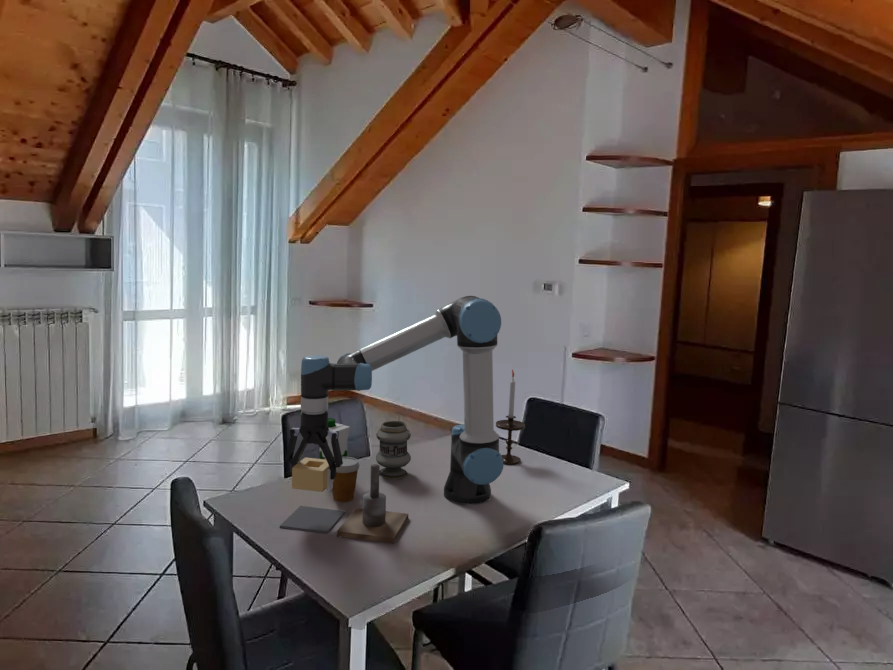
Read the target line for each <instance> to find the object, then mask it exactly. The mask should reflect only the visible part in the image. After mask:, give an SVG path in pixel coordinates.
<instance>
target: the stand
mask: <svg viewBox="0 0 893 670" xmlns="http://www.w3.org/2000/svg"><path fill="white" fill-rule="evenodd" d="M380 467H381V465H379V464H378V463H376V464H371V465H370V491H369V492H367V493H365V494H363V495H362V507H355V508H354V509H353V510H352V512H351V513H350V514H349V515H348V517H347V518H346V519H345V520H344V522H343V523H342V524H341V525H340V527H338V529H337V530H336V537H340V538H347V539H357V540H363V541H371V542H380V543H388V544H394V543H395V542H396V540H397V539H398V537H399V536H400V534H401V532H402V530H403V528H404V526H405V525H406V523H407V522H408V520H409V513H405V512H396V511H388V510H386V509H387V507H386V506H387V496H386V494H385V493H382V492H380V475H379V471H380V470H381V469H380Z"/></svg>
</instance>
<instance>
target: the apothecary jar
mask: <svg viewBox="0 0 893 670" xmlns="http://www.w3.org/2000/svg"><path fill="white" fill-rule="evenodd" d="M375 434H376V439H378V441H379V452H377V454H376V456H375V461H376V462H377V463H376V464H378V465H380V467H383V468H381V469H380V470H379V476H381V477H382V478H385V479H391V480H392V479H397V480H398V479H401V478H404V477H406V476H407V474H408V472H407V470H406V469H404V468H403V467H405V466H407V465H408V464H409V463H410V462H411V459H412V458H411V454H410V452H409V451H408V441H409V440H410V439H411V436H412V435H411V432H410V430H409V429H408V428H407V424H406V422H405V421H401V420H387V421H386V420H385V421H383V422H381V425H380V428H379V429H378V430H377V431H376V433H375Z"/></svg>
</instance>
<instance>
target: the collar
mask: <svg viewBox="0 0 893 670" xmlns="http://www.w3.org/2000/svg"><path fill="white" fill-rule="evenodd" d="M328 468H329V465H328V462H327V460H325V459H320V458H314V457H304V458H302V459H301V460H299V461H298V464H296V465H295V466H294V467H293V468H292V467H291V481H292V482H291V489H293V490H294V489H295V490H303V491H311V492H312V491H313V492H321V493H324V492H325V490H327V469H328ZM333 481H334V480H333Z"/></svg>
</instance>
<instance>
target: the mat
mask: <svg viewBox="0 0 893 670" xmlns="http://www.w3.org/2000/svg"><path fill="white" fill-rule="evenodd" d="M345 513H346V512H345V510H340V509H333V508H332V509H330V508H323V507H322V508H321V507H315V506H314V507H312V506H306V505H304V506H303V505H300V506H298V507H297V509H295V510H294V511H293V512H292V513H291V514H290V515H289V516H288V517H287V518H286V519H285V520H284V521H283V522H282V523H281V524H280V525H279V528H282V529H283V528H284V529H291V530H299V531H305V532H306V531H307V532H315V533H324V534H329V533H330V531H332V529H333V528H334V527H335V525H336V524H337V523H338V522H339V520H340V519H341V518H342V517H343V516H344V515H345Z"/></svg>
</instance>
